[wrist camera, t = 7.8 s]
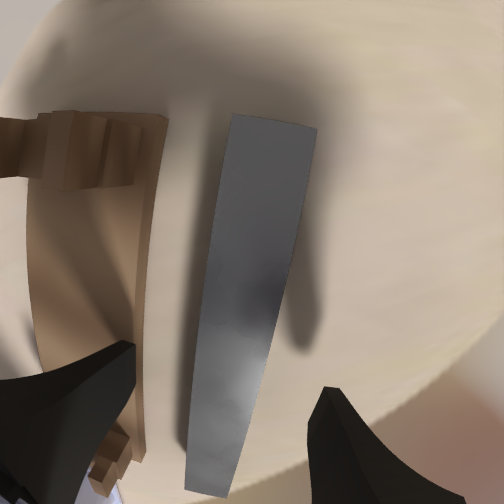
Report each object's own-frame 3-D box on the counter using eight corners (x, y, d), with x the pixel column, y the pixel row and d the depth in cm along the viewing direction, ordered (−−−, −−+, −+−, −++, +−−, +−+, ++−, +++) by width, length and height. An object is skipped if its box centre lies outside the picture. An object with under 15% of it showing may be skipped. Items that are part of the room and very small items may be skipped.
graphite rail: (231, 468, 15) (226, 498, 12) (193, 460, 15) (184, 489, 12) (308, 139, 10) (317, 129, 8) (241, 127, 10) (232, 113, 8)
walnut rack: (146, 451, 14) (121, 506, 10) (66, 417, 15) (32, 460, 10) (168, 119, 10) (101, 89, 5) (52, 115, 10) (-24, 105, 6)
